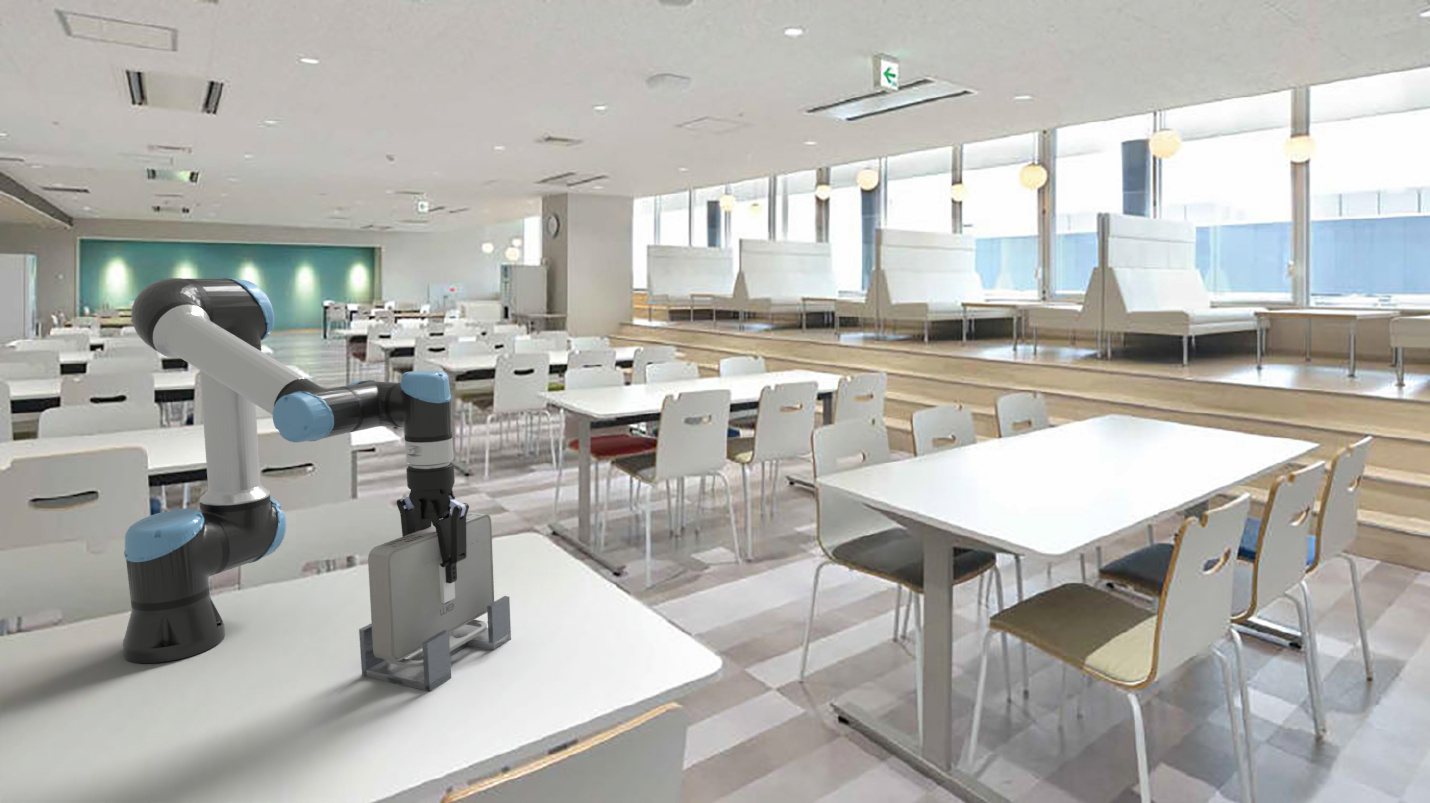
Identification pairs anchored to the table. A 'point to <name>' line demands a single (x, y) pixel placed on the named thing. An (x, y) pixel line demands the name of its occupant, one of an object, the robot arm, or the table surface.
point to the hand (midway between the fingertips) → (437, 598)
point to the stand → (436, 651)
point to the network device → (427, 591)
